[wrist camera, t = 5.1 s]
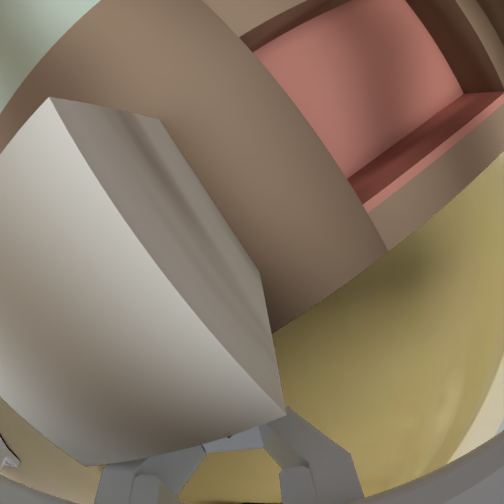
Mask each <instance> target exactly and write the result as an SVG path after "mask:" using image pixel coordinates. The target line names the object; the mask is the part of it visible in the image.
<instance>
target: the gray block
mask: <svg viewBox="0 0 504 504" xmlns="http://www.w3.org/2000/svg"><path fill="white" fill-rule="evenodd" d="M0 396H1V397H2V398H3V399H4V400H5V401H6V402H7V403H8V404H9V405H10V406H11V407H12V408H13V409H14V410H15V411H16V412H17V413H18V414H19V415H20V416H21V417H22V418H23V419H24V420H26V421H27V422H28V423H29V424H30V425H31V426H32V427H34V428H35V429H36V430H37V431H38V432H40V433H41V434H42V435H43V436H44V437H46V438H47V439H48V440H49V441H51V442H52V443H53V444H55V445H56V446H57V447H58V448H60V449H61V450H62V451H64V452H65V453H67V454H68V455H69V456H71V457H72V458H74V459H75V460H76V461H78V462H79V463H81V464H82V465H84V466H85V467H86V466H96V465H104V464H112V463H119V462H125V461H131V460H137V459H142V458H148V457H153V456H157V455H162V454H167V453H171V452H175V451H179V450H183V449H187V448H191V447H195V446H198V445H202V444H206V443H209V442H212V441H216V440H219V439H222V438H225V437H228V436H232V435H235V434H238V433H241V432H243V431H246V430H249V429H252V428H255V427H257V426H260V425H263V424H265V423H268V422H271V421H273V420H276V419H278V418H281V417H283V416H286V415H287V413H286V407H285V402H284V397H283V391H282V386H281V381H280V376H279V370H278V365H277V360H276V354H275V349H274V344H273V339H272V334H271V328H270V323H269V318H268V313H267V307H266V302H265V297H264V292H263V287H262V281H261V276H260V272H259V270H258V269H257V267H256V266H255V264H254V263H253V261H252V260H251V258H250V257H249V255H248V254H247V252H246V251H245V249H244V248H243V246H242V245H241V243H240V242H239V240H238V238H237V237H236V235H235V234H234V232H233V231H232V229H231V228H230V226H229V225H228V223H227V222H226V220H225V219H224V217H223V216H222V214H221V213H220V211H219V210H218V208H217V207H216V205H215V204H214V202H213V201H212V199H211V197H210V196H209V194H208V193H207V191H206V190H205V188H204V187H203V185H202V184H201V182H200V181H199V179H198V178H197V176H196V175H195V173H194V172H193V170H192V169H191V167H190V165H189V164H188V162H187V161H186V159H185V158H184V156H183V155H182V153H181V152H180V150H179V149H178V147H177V146H176V144H175V143H174V141H173V139H172V138H171V136H170V135H169V133H168V132H167V130H166V129H165V127H164V126H163V124H162V123H161V121H160V120H159V119H156V118H152V117H148V116H144V115H140V114H136V113H131V112H127V111H123V110H118V109H113V108H109V107H104V106H99V105H94V104H89V103H83V102H78V101H72V100H66V99H60V98H53V97H48V98H47V99H46V101H45V102H44V103H43V104H42V105H41V106H40V107H39V108H38V109H37V110H36V111H35V112H34V113H33V115H32V116H31V117H30V118H29V119H28V120H27V121H26V123H25V124H24V125H23V126H22V127H21V129H20V130H19V131H18V132H17V133H16V135H15V136H14V137H13V138H12V140H11V141H10V142H9V144H8V145H7V146H6V147H5V149H4V150H3V151H2V153H1V154H0Z"/></svg>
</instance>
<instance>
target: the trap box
mask: <svg viewBox="0 0 504 504" xmlns="http://www.w3.org/2000/svg"><path fill="white" fill-rule="evenodd" d="M48 97H53V98H60V99H66V100H72V101H78V102H83V103H89V104H94V105H99V106H104V107H109V108H113V109H118V110H123V111H127V112H131V113H136V114H140V115H144V116H148V117H152V118H156V119H159V120H160V121H161V123H162V124H163V126H164V127H165V129H166V130H167V132H168V133H169V135H170V136H171V138H172V139H173V141H174V143H175V144H176V146H177V147H178V149H179V150H180V152H181V153H182V155H183V156H184V158H185V159H186V161H187V162H188V164H189V165H190V167H191V169H192V170H193V172H194V173H195V175H196V176H197V178H198V179H199V181H200V182H201V184H202V185H203V187H204V188H205V190H206V191H207V193H208V194H209V196H210V197H211V199H212V201H213V202H214V204H215V205H216V207H217V208H218V210H219V211H220V213H221V214H222V216H223V217H224V219H225V220H226V222H227V223H228V225H229V226H230V228H231V229H232V231H233V232H234V234H235V235H236V237H237V238H238V240H239V242H240V243H241V245H242V246H243V248H244V249H245V251H246V252H247V254H248V255H249V257H250V258H251V260H252V261H253V263H254V264H255V266H256V267H257V269H258V270H259V272H260V276H261V281H262V287H263V292H264V297H265V302H266V307H267V313H268V318H269V323H270V328H271V334H272V333H274V332H275V331H277V330H278V329H280V328H281V327H283V326H285V325H286V324H288V323H289V322H291V321H292V320H294V319H295V318H297V317H298V316H300V315H301V314H303V313H304V312H306V311H307V310H309V309H310V308H312V307H313V306H315V305H316V304H318V303H319V302H320V301H322V300H323V299H325V298H326V297H328V296H329V295H331V294H332V293H333V292H335V291H336V290H338V289H339V288H340V287H342V286H343V285H345V284H346V283H347V282H349V281H350V280H352V279H353V278H354V277H356V276H357V275H358V274H360V273H361V272H362V271H364V270H365V269H366V268H368V267H369V266H370V265H372V264H373V263H374V262H376V261H377V260H378V259H380V258H381V257H382V256H384V255H385V254H386V253H387V252H389V251H390V250H391V249H393V248H394V247H395V246H396V245H398V244H399V243H400V242H402V241H403V240H404V239H405V238H407V237H408V236H409V235H410V234H411V233H413V232H414V231H415V230H416V229H418V228H419V227H420V226H421V225H422V224H424V223H425V222H426V221H427V220H428V219H430V218H431V217H432V216H433V215H434V214H436V213H437V212H438V211H439V210H440V209H441V208H443V207H444V206H445V205H446V204H447V203H448V202H449V201H451V200H452V199H453V198H454V197H455V196H456V195H457V194H458V193H460V192H461V191H462V190H463V189H464V188H465V187H466V186H467V185H468V184H470V183H471V182H472V181H473V180H474V179H475V178H476V177H477V176H478V175H479V174H480V173H481V172H482V171H483V170H484V169H486V168H487V167H488V166H489V165H490V164H491V163H492V162H493V161H494V160H495V159H496V158H497V157H498V156H499V155H500V154H501V153H502V152H503V151H504V0H0V154H1V153H2V151H3V150H4V149H5V147H6V146H7V145H8V144H9V142H10V141H11V140H12V138H13V137H14V136H15V135H16V133H17V132H18V131H19V130H20V129H21V127H22V126H23V125H24V124H25V123H26V121H27V120H28V119H29V118H30V117H31V116H32V115H33V113H34V112H35V111H36V110H37V109H38V108H39V107H40V106H41V105H42V104H43V103H44V102H45V101H46V99H47V98H48Z"/></svg>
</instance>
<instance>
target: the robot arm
mask: <svg viewBox="0 0 504 504" xmlns="http://www.w3.org/2000/svg"><path fill="white" fill-rule="evenodd" d="M286 413H287V415H286V416H283V417H281V418H278V419H276V420H273V421H271V422H268V423H265V424H263V425H260V426H257V427H255V428H252V429H249V430H246V431H243V432H241V433H238V434H235V435H232V436H228V437H225V438H222V439H219V440H216V441H212V442H209V443H206V444H202V445H198V446H195V447H191V448H187V449H183V450H179V451H175V452H171V453H167V454H162V455H157V456H153V457H148V458H142V459H137V460H131V461H125V462H119V463H112V464H108V465H107V466H106V467H104V468H103V472H102V476H101V479H100V483H99V487H98V491H97V495H96V499H95V503H94V504H184V503H183V502H182V501H181V500H180V499H179V498H178V497H177V495H178V494H179V492H180V491H181V490H182V488H183V487H184V486H185V484H186V483H187V481H188V480H189V479H190V477H191V476H192V474H193V473H194V472H195V470H196V469H197V467H198V466H199V465H200V463H201V462H202V460H203V459H204V457H205V456H206V453H213V452H225V451H234V450H247V449H258V448H264V449H265V450H266V451H267V453H268V454H269V455H270V456H271V457H272V458H273V459H274V460H275V461H276V462H277V463H278V464H279V465H280V466H281V467H282V469H283V470H282V471H281V473H280V474H279V478H280V487H281V495H282V504H504V430H503V431H502V432H500V433H499V434H497V435H496V436H494V437H493V438H491V439H490V440H488V441H487V442H485V443H484V444H482V445H480V446H479V447H477V448H475V449H474V450H472V451H470V452H469V453H467V454H465V455H463V456H462V457H460V458H458V459H456V460H454V461H452V462H450V463H449V464H447V465H445V466H443V467H441V468H439V469H437V470H434V471H432V472H430V473H428V474H426V475H424V476H421V477H419V478H417V479H415V480H412V481H410V482H407V483H405V484H402V485H400V486H397V487H395V488H392V489H389V490H386V491H384V492H381V493H378V494H375V495H372V496H369V497H365V498H364V495H363V491H362V488H361V485H360V482H359V479H358V476H357V473H356V470H355V467H354V464H353V460H352V457H351V454H350V453H349V452H347V451H346V450H345V449H343V448H342V447H340V446H339V445H338V444H336V443H335V442H334V441H332V440H331V439H329V438H328V437H327V436H325V435H324V434H323V433H321V432H320V431H319V430H317V429H316V428H315V427H313V426H312V425H311V424H310V423H308V422H307V421H306V420H304V419H303V418H302V417H301V416H299V415H298V414H297V413H296V412H294V411H293V410H292V409H291V408H289V407H286ZM19 464H20V461H19V460H18V459H17V458H16V457H15V456H14V455H13V454H12V453H11V452H10V451H9V449H8V448H7V447H6V445H5V444H4V442H3V440H2V439H1V437H0V472H1V470H2V468H3V466H10V467H15V468H17V467H18V466H19ZM0 504H79V503H75V502H71V501H68V500H65V499H62V498H58V497H55V496H52V495H49V494H47V493H44V492H41V491H38V490H36V489H33V488H30V487H28V486H26V485H23V484H21V483H18V482H16V481H14V480H12V479H9V478H7V477H5V476H3V475H1V474H0Z"/></svg>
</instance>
